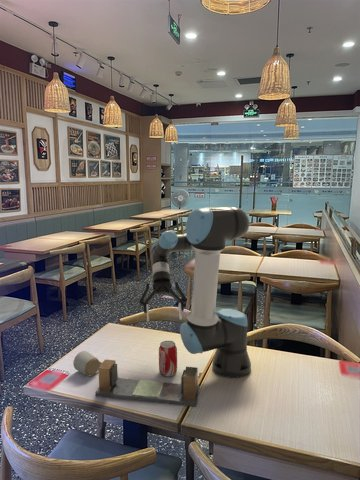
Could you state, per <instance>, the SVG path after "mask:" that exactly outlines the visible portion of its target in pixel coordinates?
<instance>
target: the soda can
mask: <svg viewBox="0 0 360 480" xmlns="http://www.w3.org/2000/svg"><path fill="white" fill-rule="evenodd" d="M158 368H159V369H158V370H159V374H160V375H162V376H164V377H173V376H174V375H175V374H177V373H178V372H177V371H178V348H177V346H176V342H174V341H172V340H163V341H161V342H160V344H159V346H158Z"/></svg>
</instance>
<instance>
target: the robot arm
mask: <svg viewBox="0 0 360 480" xmlns="http://www.w3.org/2000/svg"><path fill="white" fill-rule="evenodd" d="M249 228H250V220H249V217H248V215H247V214H246V212H245V211H244V210H243V209H241V208H238V207H234V206H222V207H219V206H218V207H216V206H215V207H202V208H195V209H194V210H192V211H191V213H189V215H188V217H187V220H186V223H185V233H183V234H182V233H181V234H177V233H176V232H174V231H171V230H166V231H163V232H162V234H161V235H160V236H159V238H158V241H157V242H155V243H153V244H152V245H151V251H150V253H151V263H152V264H151V266H152V284H150V283H148V282H147V283H146V284H145V285H146V287H145V290H144V291H143V293H142V296H141V298H140V299H139V301H138V303H139V306H140V307H141V306H142V307H143V314H146V322H147V323H148V322H150V312H149V303H150V302H151V301H152V300H153V298H154V297H156V296H157V295H167V294H168V295H169V296H170V297H172V299H174V301H176V303H178V316H179V320H180V321H182V320H183V312H185V311H184V309H185V308H184V307H185V306H184V304H187V302H188V298H187V296H185V294H184V293H183V291H182V289H181V288H180V285H179V283H178V282H177V281H175V282H174V283H172V282H171V275H170V273H171V272H170V262H169V257H170V255H172V253H175V252H185V251H193V250H195V252H194V266H193V267H194V268H193V285H192V297H191V298H192V299H191V311H190V312H188V313H187V315H186V321H185V322H182V323H181V324H180V326H179V333H180V337H181V338H180V339H181V341H182V344H183V346H184V348H185V349H186V351H187V352H188V353H190V354H192V355H195V354H203V353H204V352H209V351H213V350H215V353H214V356H213V359H212V365H211V366H212V370H213V371H214V372H215V373H216V374H218V375H219V376H221V377H226V378H235V379H237V378H241V377H245V376H247V375H249V374H250V373H251V371H252V361H251V359H250V357H249V354H248V347H247V346H248V326H249V325H248V316H247V315H246V314H245V313H243V312H242V311H239V310H235V309H231V308H222V309H219V310H217V313H216V304H217V294H218V293H217V292H218V283H219V282H218V281H219V269H220V259H221V252H223V251H224V250H225V249H226V241H232V240H233V241H234V240H238V239H240V238H242V237H244V236H245V235H246V234H247V232H248V231H249ZM172 288H173V289H175V291H176V293H177V294H176V293H175V291H173V289H172ZM151 289H152V290H153V291H151V293H150V295H149V296H148V293H149V291H150V290H151ZM147 296H148V297H147Z"/></svg>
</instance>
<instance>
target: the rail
mask: <svg viewBox="0 0 360 480" xmlns="http://www.w3.org/2000/svg"><path fill="white" fill-rule="evenodd" d="M198 370H199V369H198V367H196V366H186V367H185V369H183V371H182V374H181V377H180V383H173V382H165V381H154V380H144V379H135V378H134V379H133V378H121V377H118V376H119V374H118V364H117V362H116V360H114V359H113V360H112V359H104V360H103V361H102V364H101V365H100V367H99V368H98V371H97V373H98V386H99V387H98V389H97V390H96V391H95V397H96V398H97V397H99V398H108V399H116V400H117V399H118V400H126V401H127V400H128V401H136V402H145V403H146V402H147V403H154V404H155V403H156V404H163V405H164V404H165V405H173V406H182V407H183V406H184V407H193V408H196V407H197V403H198V401H199V400H198V399H199V395H200V390H201V386H200V385H198V383H199V382H198V381H199V380H198V378H199V375H198V373H199V371H198Z"/></svg>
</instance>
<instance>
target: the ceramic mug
mask: <svg viewBox="0 0 360 480" xmlns="http://www.w3.org/2000/svg"><path fill="white" fill-rule="evenodd" d="M102 363H103V361H100V360H99V359H98V358H97V356H95V355H93V354H91V353H90V352H89V351H87V350H82V351H80V352H78V353H77V354H76V355H75V357H74V359H73V367H74V369H75V370H76V371H78V372H80V373H81V374H83V375H85V376H87V377H92V376H94V375H95V374H97V373H98V368H99V367H100V365H101V364H102Z"/></svg>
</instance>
